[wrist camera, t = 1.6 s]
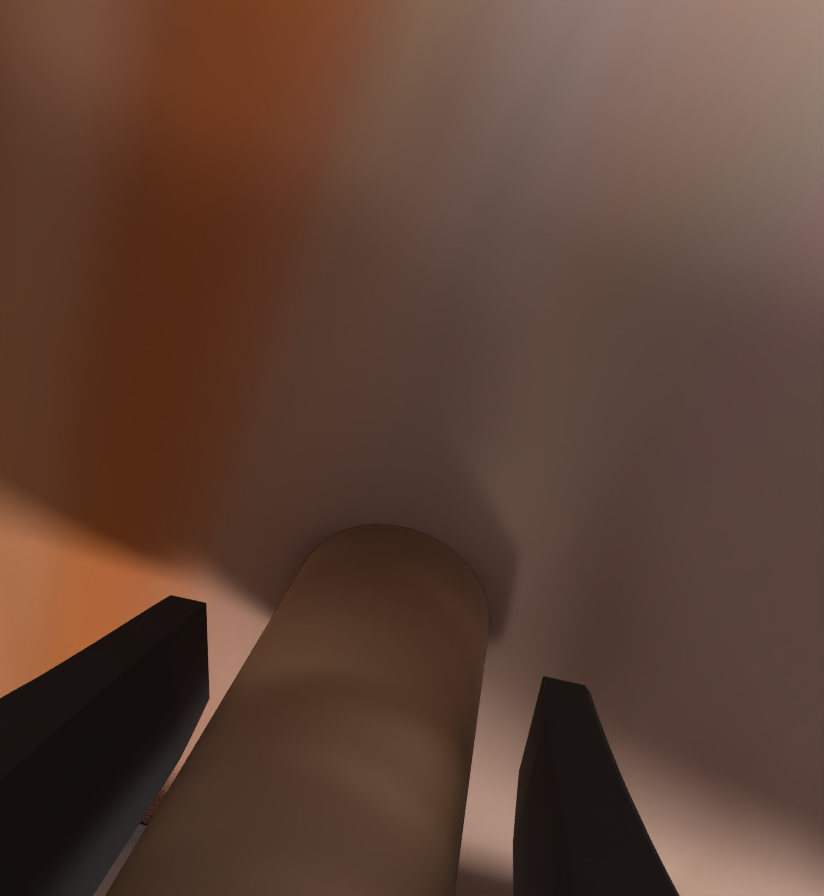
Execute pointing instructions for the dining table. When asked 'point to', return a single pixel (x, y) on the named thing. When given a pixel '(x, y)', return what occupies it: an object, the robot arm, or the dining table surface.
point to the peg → (335, 737)
